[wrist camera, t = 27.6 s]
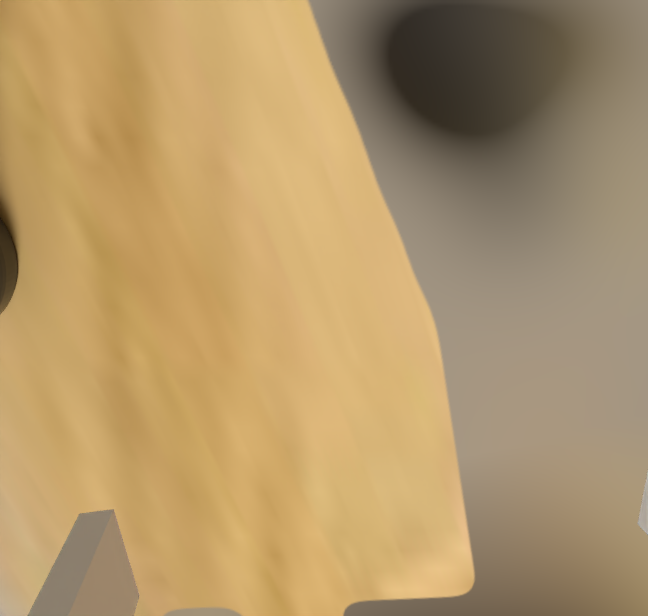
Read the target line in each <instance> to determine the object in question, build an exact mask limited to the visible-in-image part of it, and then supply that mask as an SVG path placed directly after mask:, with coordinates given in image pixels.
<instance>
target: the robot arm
mask: <svg viewBox="0 0 648 616" xmlns="http://www.w3.org/2000/svg"><path fill="white" fill-rule="evenodd" d="M16 280H17V258H16V253H15V249H14V245H13V242H12V239H11V237H10V234H9V232H8V230H7V228H6V226H5V224H4V223H3V221H2V220H1V218H0V314H1V313H2V312H3V311H4V309H5V308H6V307H7V305H8V303H9V302H10V300H11V298H12V295H13V293H14V290H15V286H16ZM638 525H639V526H640V527H641V528H642V529H643V530H644V531H645V532H646V534H647V535H648V472H647V478H646V483H645V488H644V493H643V499H642V504H641V509H640V514H639V520H638ZM138 599H139V593H138V589H137V586H136V583H135V579H134V576H133V573H132V569H131V566H130V563H129V559H128V556H127V552H126V549H125V546H124V542H123V539H122V536H121V532H120V529H119V526H118V522H117V519H116V516H115V512H114V509H112V510H104V511H97V512H89V513H82V514H79V516H78V518H77V520H76V522H75V524H74V526H73V528H72V530H71V532H70V534H69V536H68V538H67V540H66V541H65V543H64V545H63V547H62V549H61V551H60V553H59V555H58V557H57V559H56V561H55V563H54V565H53V567H52V569H51V571H50V573H49V575H48V577H47V579H46V581H45V583H44V585H43V587H42V589H41V590H40V592H39V594H38V596H37V598H36V600H35V602H34V604H33V606H32V608H31V610H30V612H29V614H28V616H134V612H135V609H136V606H137V602H138Z"/></svg>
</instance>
